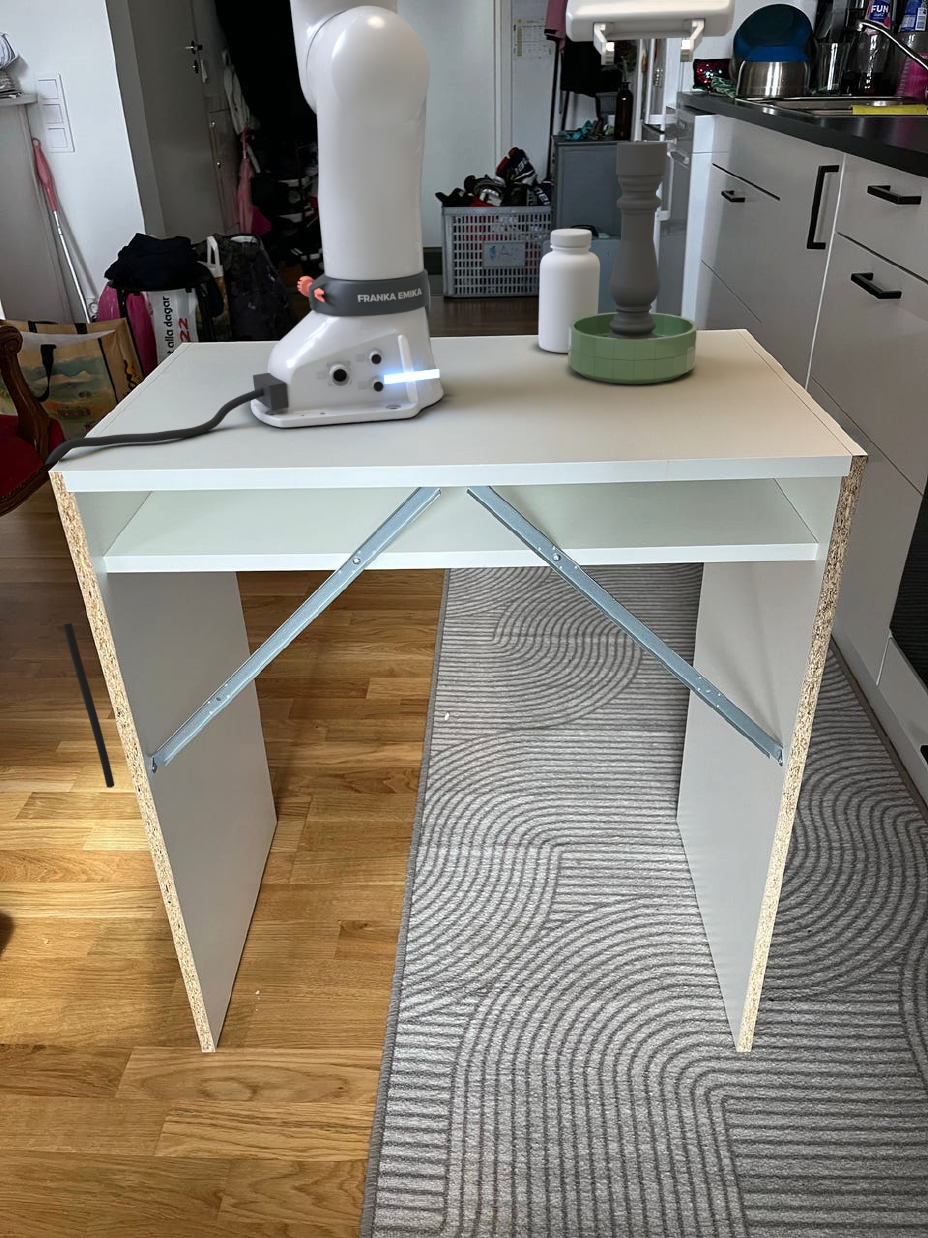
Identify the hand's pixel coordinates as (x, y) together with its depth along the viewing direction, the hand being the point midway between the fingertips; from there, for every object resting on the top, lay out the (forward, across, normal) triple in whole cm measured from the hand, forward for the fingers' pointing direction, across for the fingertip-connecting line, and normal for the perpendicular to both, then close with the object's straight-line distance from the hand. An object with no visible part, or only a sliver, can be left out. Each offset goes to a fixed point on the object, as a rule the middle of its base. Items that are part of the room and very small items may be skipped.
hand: (646, 58), depth 117 cm
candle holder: (+32, 0, +15) cm, 36 cm away
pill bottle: (+25, -9, +24) cm, 36 cm away
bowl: (+33, 0, +16) cm, 36 cm away
